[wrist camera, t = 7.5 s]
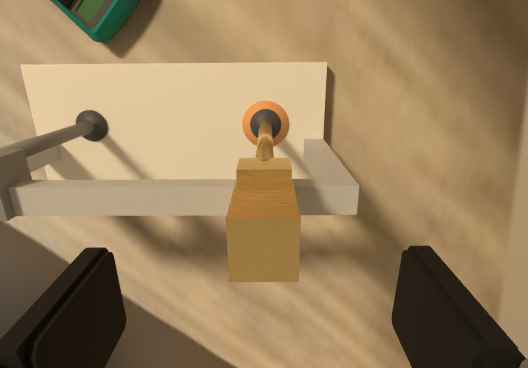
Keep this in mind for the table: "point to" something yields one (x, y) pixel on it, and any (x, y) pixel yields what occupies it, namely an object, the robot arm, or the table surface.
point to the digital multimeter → (98, 15)
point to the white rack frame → (168, 139)
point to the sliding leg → (263, 218)
